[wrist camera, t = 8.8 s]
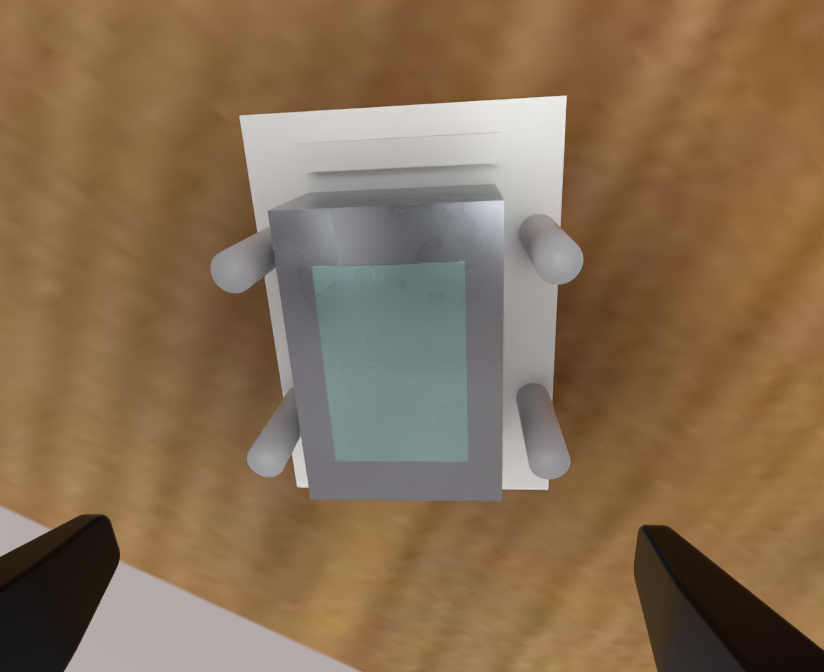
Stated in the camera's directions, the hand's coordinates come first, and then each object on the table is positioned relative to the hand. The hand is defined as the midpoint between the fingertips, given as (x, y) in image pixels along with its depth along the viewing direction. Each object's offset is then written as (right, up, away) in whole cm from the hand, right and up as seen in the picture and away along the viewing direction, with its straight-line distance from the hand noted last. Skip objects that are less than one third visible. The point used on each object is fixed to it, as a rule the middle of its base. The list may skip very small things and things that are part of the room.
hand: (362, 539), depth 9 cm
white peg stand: (+1, +4, +11) cm, 12 cm away
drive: (+1, +4, +10) cm, 11 cm away
